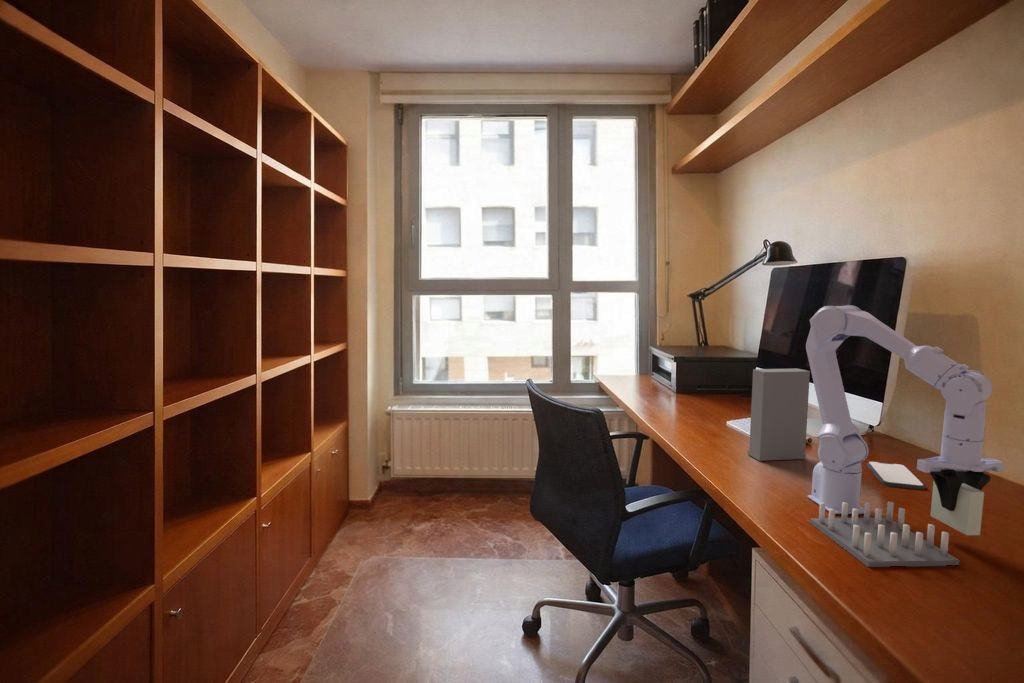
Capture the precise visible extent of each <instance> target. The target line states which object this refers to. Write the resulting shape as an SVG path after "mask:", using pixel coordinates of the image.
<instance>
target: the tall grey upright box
mask: <svg viewBox="0 0 1024 683" xmlns="http://www.w3.org/2000/svg"><path fill="white" fill-rule="evenodd" d="M810 375H811V370H806V369H801V368H760V369H759V368H758V369H756V368H755V369H754V368H753V369H752V383H751V387H752V388H751V402H750V403H751V405H750V406H751V408H750V409H751V410H750V428H749V429H750V430H749V447H748V448H749V449H748V450H747V451H746V452H747V455H748V456H749V457H752V458H753V459H756V460H757V461H759V462H763V461H764V462H765V461H783V460H785V461H787V460H802V461H803V460H805V459H806V458H807V454H806V446H807V445H806V444H807V430H808V429H807V427H808V413H809V412H808V411H809V410H808V409H809V408H808V407H809V395H810V394H809V392H810V391H809V390H810Z"/></svg>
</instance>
